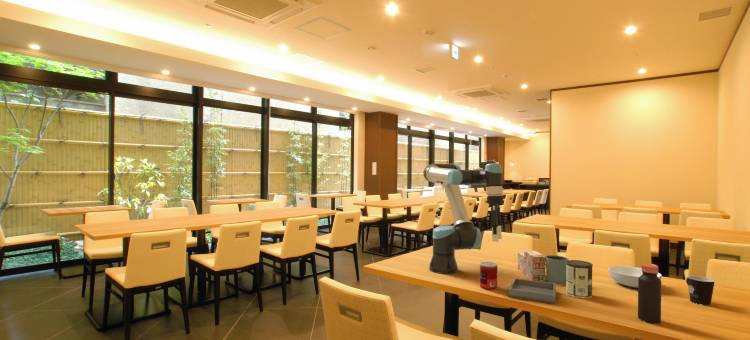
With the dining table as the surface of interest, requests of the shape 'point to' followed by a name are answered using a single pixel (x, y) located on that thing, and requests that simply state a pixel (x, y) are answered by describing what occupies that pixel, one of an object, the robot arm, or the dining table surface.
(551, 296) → the tray
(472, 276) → the dining table surface
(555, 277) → the grey cylinder
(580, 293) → the coffee can
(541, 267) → the white food box
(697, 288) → the coffee mug
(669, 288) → the dining table surface
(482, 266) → the canned food
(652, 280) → the bottle
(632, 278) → the serving bowl
